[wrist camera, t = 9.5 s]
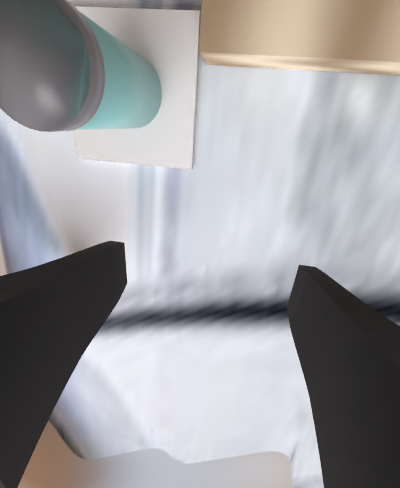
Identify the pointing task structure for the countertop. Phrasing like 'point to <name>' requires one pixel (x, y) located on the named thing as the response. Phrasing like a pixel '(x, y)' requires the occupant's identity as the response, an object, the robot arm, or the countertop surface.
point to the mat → (172, 85)
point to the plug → (70, 71)
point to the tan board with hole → (302, 34)
